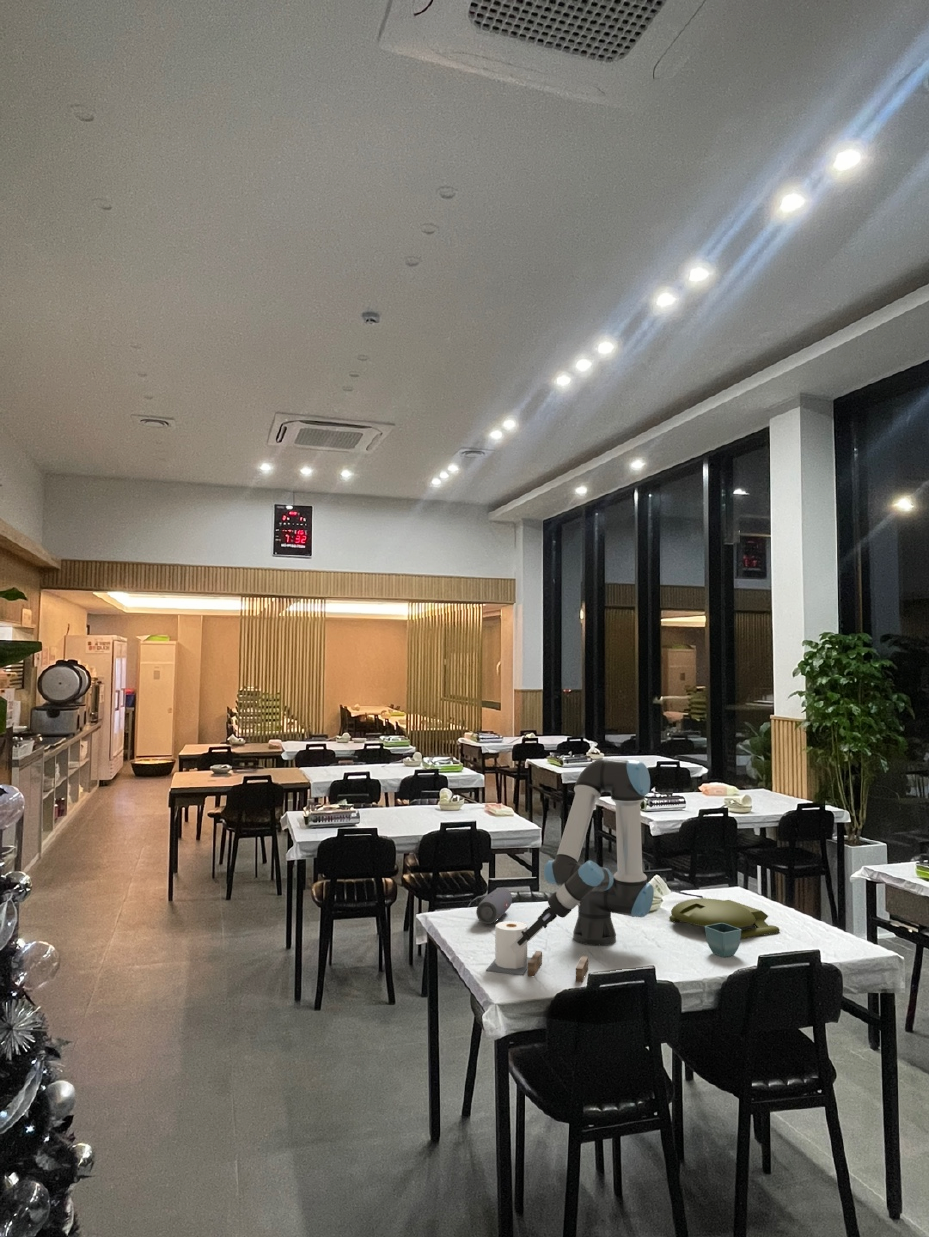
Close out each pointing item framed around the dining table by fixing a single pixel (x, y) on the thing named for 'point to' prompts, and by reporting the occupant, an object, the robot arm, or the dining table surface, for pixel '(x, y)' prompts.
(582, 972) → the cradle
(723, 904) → the spaceship
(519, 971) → the mat
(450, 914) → the dining table surface
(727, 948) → the flower pot
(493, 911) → the bluetooth speaker
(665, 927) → the dining table surface
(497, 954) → the toilet paper
